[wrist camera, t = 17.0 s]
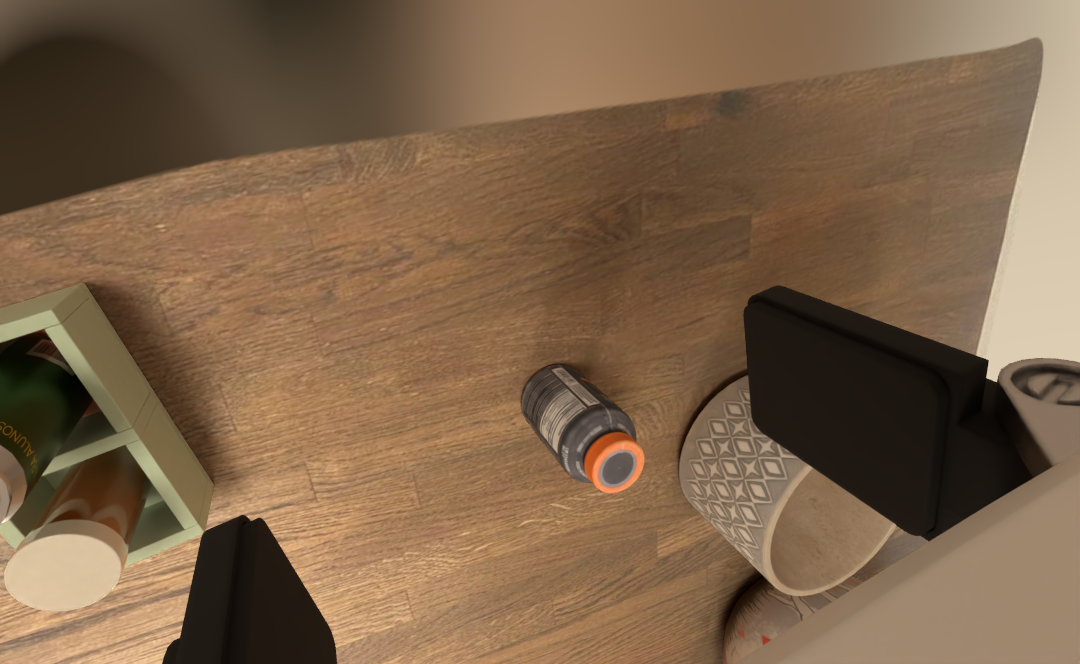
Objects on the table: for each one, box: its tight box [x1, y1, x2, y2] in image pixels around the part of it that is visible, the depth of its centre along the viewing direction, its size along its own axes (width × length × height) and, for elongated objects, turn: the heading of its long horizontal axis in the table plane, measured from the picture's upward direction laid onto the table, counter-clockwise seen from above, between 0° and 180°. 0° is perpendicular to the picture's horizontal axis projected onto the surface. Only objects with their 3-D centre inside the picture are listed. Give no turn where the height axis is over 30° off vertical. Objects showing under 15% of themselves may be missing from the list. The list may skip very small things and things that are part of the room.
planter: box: [679, 375, 897, 596], centre depth 52 cm, size 16×16×13 cm
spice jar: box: [4, 445, 153, 611], centre depth 31 cm, size 5×5×9 cm
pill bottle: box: [521, 364, 645, 493], centre depth 42 cm, size 6×6×11 cm
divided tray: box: [0, 283, 214, 568], centre depth 32 cm, size 15×8×5 cm, turn 15°
